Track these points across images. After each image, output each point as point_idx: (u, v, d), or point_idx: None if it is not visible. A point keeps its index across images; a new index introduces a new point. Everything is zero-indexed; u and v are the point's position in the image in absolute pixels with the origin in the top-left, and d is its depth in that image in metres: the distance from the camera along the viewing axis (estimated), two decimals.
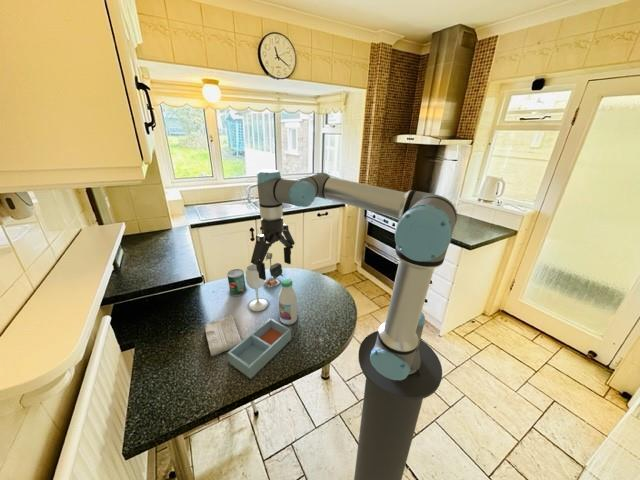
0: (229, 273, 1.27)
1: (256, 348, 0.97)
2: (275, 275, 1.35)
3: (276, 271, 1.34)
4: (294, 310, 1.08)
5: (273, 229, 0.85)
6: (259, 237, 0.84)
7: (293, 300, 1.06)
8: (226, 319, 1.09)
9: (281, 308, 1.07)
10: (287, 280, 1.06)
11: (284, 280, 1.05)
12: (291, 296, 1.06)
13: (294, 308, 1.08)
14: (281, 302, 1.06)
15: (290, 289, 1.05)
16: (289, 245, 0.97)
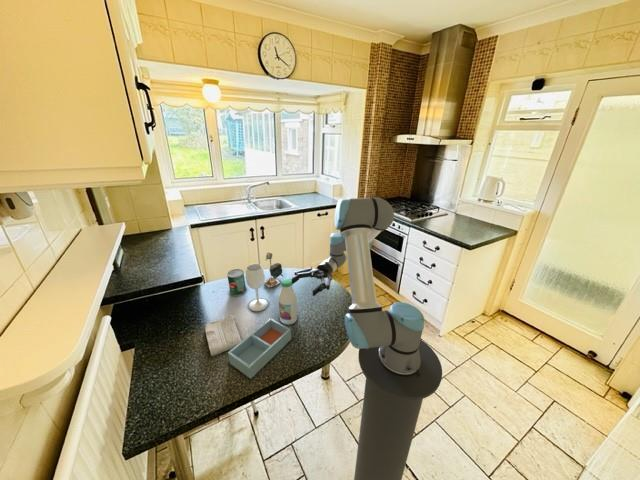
0: (229, 273, 1.27)
1: (256, 348, 0.97)
2: (275, 275, 1.35)
3: (276, 271, 1.34)
4: (294, 310, 1.08)
5: None
6: None
7: (293, 300, 1.06)
8: (226, 319, 1.09)
9: (281, 308, 1.07)
10: (287, 280, 1.05)
11: (284, 280, 1.05)
12: (291, 296, 1.06)
13: (294, 308, 1.08)
14: (281, 302, 1.06)
15: (290, 289, 1.05)
16: None
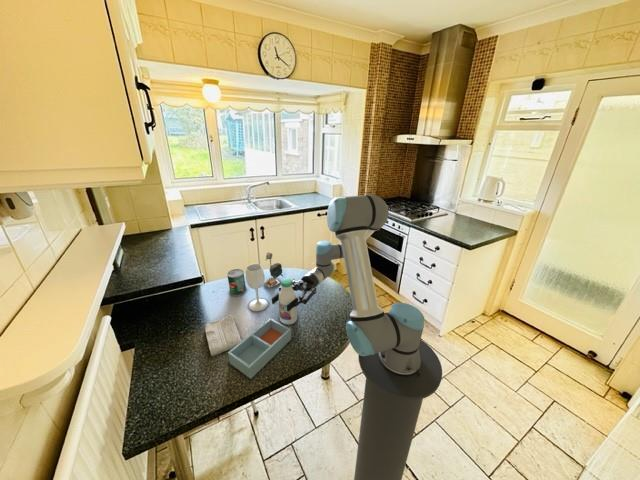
0: (229, 273, 1.27)
1: (256, 348, 0.97)
2: (275, 275, 1.35)
3: (276, 271, 1.34)
4: (294, 310, 1.08)
5: None
6: None
7: None
8: (226, 319, 1.09)
9: (281, 308, 1.07)
10: (287, 280, 1.05)
11: (284, 280, 1.05)
12: (291, 296, 1.06)
13: (294, 308, 1.08)
14: (281, 302, 1.06)
15: (290, 289, 1.05)
16: None
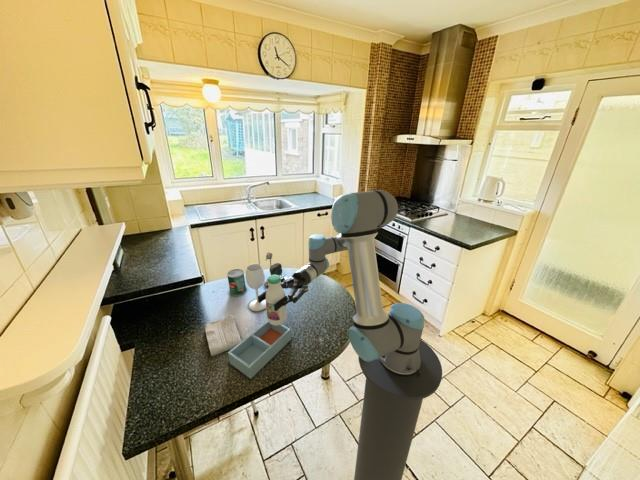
0: (229, 273, 1.27)
1: (256, 348, 0.97)
2: None
3: (276, 271, 1.34)
4: (283, 310, 0.98)
5: None
6: (307, 289, 1.04)
7: (281, 298, 0.96)
8: (226, 319, 1.09)
9: (268, 307, 0.97)
10: (275, 276, 0.95)
11: (271, 276, 0.95)
12: (279, 295, 0.95)
13: (283, 307, 0.98)
14: (268, 301, 0.96)
15: (278, 286, 0.95)
16: None
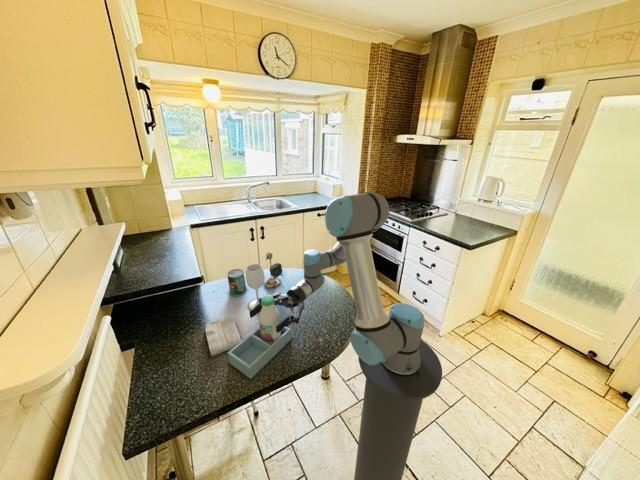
0: (229, 273, 1.27)
1: (256, 348, 0.97)
2: (275, 275, 1.35)
3: (276, 271, 1.34)
4: None
5: None
6: None
7: (275, 320, 0.94)
8: (226, 319, 1.09)
9: (262, 329, 0.95)
10: (268, 298, 0.93)
11: (265, 298, 0.93)
12: (272, 316, 0.93)
13: None
14: (261, 322, 0.94)
15: (271, 308, 0.93)
16: None
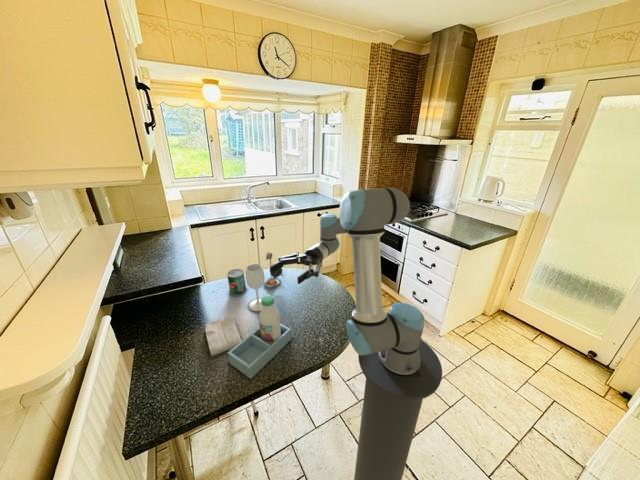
0: (229, 273, 1.27)
1: (256, 348, 0.97)
2: (275, 275, 1.35)
3: (276, 271, 1.34)
4: (277, 331, 0.96)
5: None
6: None
7: (275, 320, 0.94)
8: (226, 319, 1.09)
9: (262, 329, 0.95)
10: (268, 298, 0.93)
11: (265, 298, 0.93)
12: (272, 316, 0.93)
13: (277, 329, 0.96)
14: (261, 322, 0.94)
15: (271, 308, 0.93)
16: None
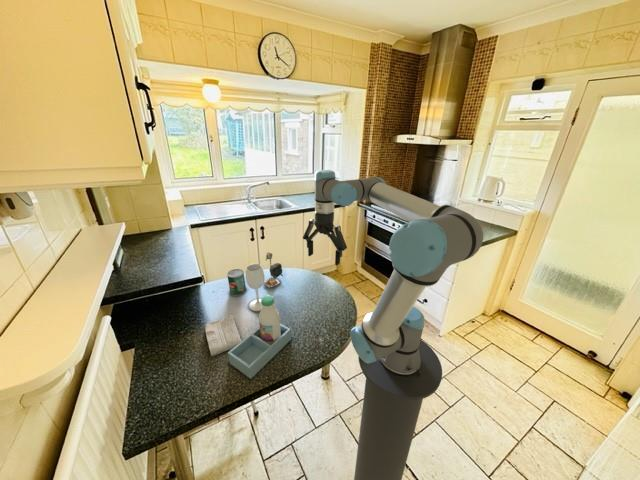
0: (229, 273, 1.27)
1: (256, 348, 0.97)
2: (275, 275, 1.35)
3: (276, 271, 1.34)
4: (277, 331, 0.96)
5: None
6: (339, 226, 0.99)
7: (275, 320, 0.94)
8: (226, 319, 1.09)
9: (262, 329, 0.95)
10: (268, 298, 0.93)
11: (265, 298, 0.93)
12: (272, 316, 0.93)
13: (277, 329, 0.96)
14: (261, 322, 0.94)
15: (271, 308, 0.93)
16: None
